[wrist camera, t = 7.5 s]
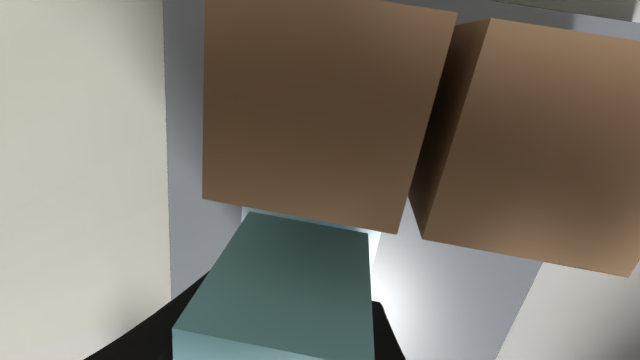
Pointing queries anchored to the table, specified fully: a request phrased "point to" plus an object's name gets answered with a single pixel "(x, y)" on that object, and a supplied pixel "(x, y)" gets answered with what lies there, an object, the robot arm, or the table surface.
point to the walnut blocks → (427, 126)
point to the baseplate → (384, 248)
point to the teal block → (282, 296)
